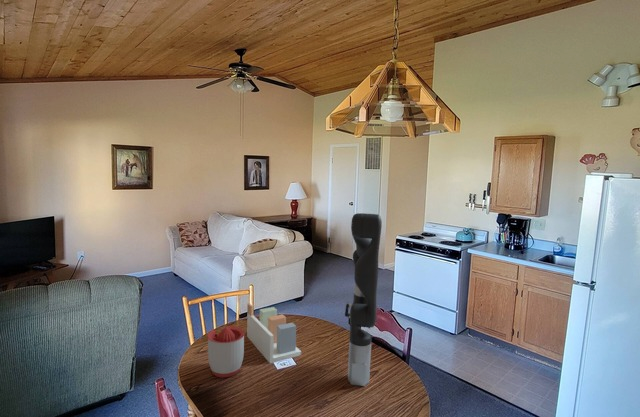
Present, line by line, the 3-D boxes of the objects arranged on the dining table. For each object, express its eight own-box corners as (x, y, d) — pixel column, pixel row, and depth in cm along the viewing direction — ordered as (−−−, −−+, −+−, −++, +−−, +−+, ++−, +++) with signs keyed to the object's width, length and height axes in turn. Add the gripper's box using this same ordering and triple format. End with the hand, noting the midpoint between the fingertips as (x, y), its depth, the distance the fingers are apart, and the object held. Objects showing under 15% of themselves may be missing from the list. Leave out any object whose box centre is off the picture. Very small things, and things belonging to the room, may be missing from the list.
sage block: (273, 328, 201) (273, 306, 200) (276, 331, 197) (277, 309, 196) (259, 331, 197) (259, 309, 196) (262, 334, 193) (262, 312, 192)
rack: (275, 330, 204) (275, 298, 202) (300, 355, 178) (302, 319, 176) (247, 336, 196) (247, 303, 194) (269, 363, 170) (270, 325, 168)
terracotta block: (281, 336, 192) (282, 314, 190) (285, 340, 188) (286, 317, 187) (267, 340, 188) (267, 317, 186) (270, 343, 184) (271, 320, 183)
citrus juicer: (232, 356, 175) (232, 315, 173) (250, 372, 162) (251, 328, 160) (200, 366, 165) (199, 323, 163) (216, 385, 152) (216, 338, 150)
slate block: (291, 345, 182) (292, 322, 181) (295, 349, 179) (296, 325, 177) (276, 349, 178) (277, 325, 177) (280, 353, 175) (280, 329, 173)
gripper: (345, 294, 166) (343, 328, 169) (377, 297, 164) (375, 332, 167) (347, 288, 174) (345, 320, 176) (378, 291, 171) (375, 324, 174)
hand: (359, 326), depth 171 cm, fingers open, 8 cm apart
